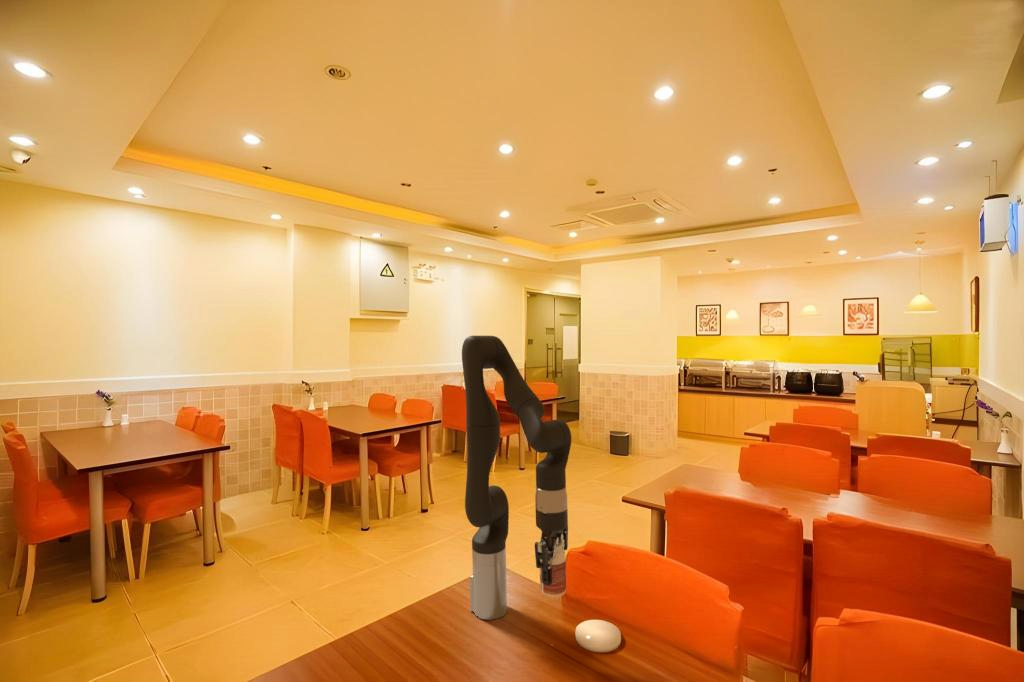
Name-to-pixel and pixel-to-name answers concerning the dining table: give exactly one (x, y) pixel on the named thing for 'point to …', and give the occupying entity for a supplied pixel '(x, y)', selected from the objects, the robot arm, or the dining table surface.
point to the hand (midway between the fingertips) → (553, 577)
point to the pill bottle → (556, 575)
